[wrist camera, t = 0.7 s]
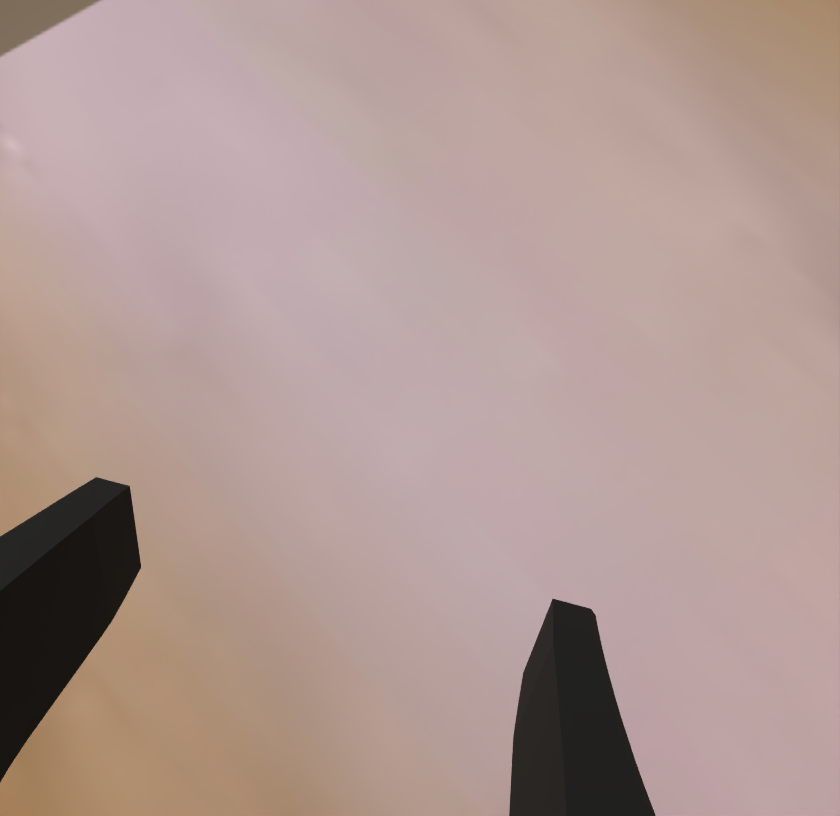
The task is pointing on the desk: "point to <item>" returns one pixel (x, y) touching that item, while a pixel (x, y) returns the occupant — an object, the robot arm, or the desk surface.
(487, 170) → the desk surface
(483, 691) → the desk surface
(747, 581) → the desk surface
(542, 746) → the robot arm
